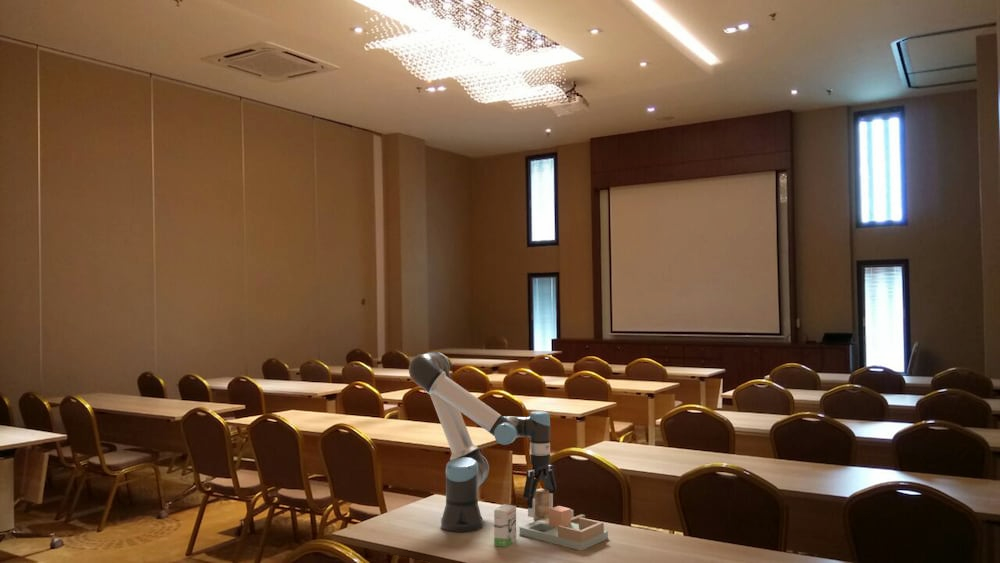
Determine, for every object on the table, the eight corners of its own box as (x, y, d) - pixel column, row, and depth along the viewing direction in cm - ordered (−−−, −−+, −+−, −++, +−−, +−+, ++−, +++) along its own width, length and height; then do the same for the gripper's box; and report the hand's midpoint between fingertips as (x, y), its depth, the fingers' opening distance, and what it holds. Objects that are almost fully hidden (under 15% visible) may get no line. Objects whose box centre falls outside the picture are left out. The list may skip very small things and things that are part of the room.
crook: (531, 519, 270) (531, 489, 270) (547, 514, 277) (547, 485, 277) (570, 529, 258) (570, 498, 259) (585, 523, 265) (585, 493, 266)
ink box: (507, 547, 239) (507, 511, 239) (493, 545, 241) (493, 510, 241) (516, 540, 247) (516, 505, 247) (503, 538, 249) (503, 503, 249)
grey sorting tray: (519, 534, 253) (519, 517, 253) (547, 523, 265) (547, 507, 265) (581, 550, 236) (581, 532, 236) (608, 538, 248) (607, 520, 248)
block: (549, 524, 255) (549, 508, 256) (559, 521, 259) (559, 505, 260) (561, 527, 252) (561, 511, 252) (571, 524, 256) (571, 508, 256)
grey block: (558, 521, 268) (558, 510, 268) (564, 518, 271) (564, 508, 271) (567, 523, 266) (567, 512, 266) (573, 521, 269) (573, 510, 269)
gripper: (529, 459, 260) (529, 522, 259) (566, 450, 277) (566, 508, 276) (513, 457, 265) (513, 518, 264) (550, 447, 282) (550, 505, 281)
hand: (540, 513), depth 270 cm, fingers open, 10 cm apart
